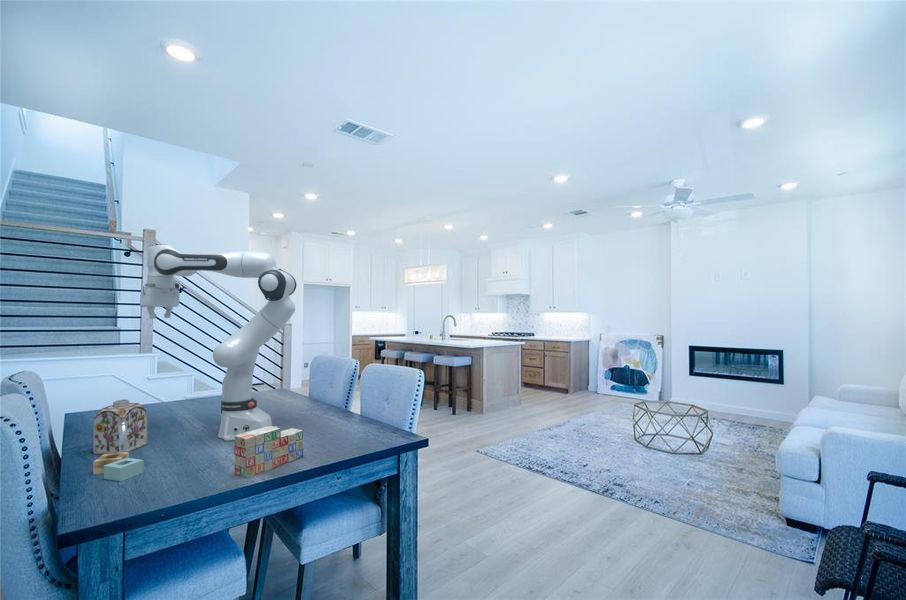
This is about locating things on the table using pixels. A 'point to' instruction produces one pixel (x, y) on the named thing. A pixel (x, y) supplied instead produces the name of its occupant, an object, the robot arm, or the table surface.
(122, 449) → the steel needle peg
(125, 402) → the decorative jar
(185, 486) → the table surface
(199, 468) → the table surface
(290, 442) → the stack of blocks
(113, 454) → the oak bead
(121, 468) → the green block with hole
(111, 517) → the table surface
